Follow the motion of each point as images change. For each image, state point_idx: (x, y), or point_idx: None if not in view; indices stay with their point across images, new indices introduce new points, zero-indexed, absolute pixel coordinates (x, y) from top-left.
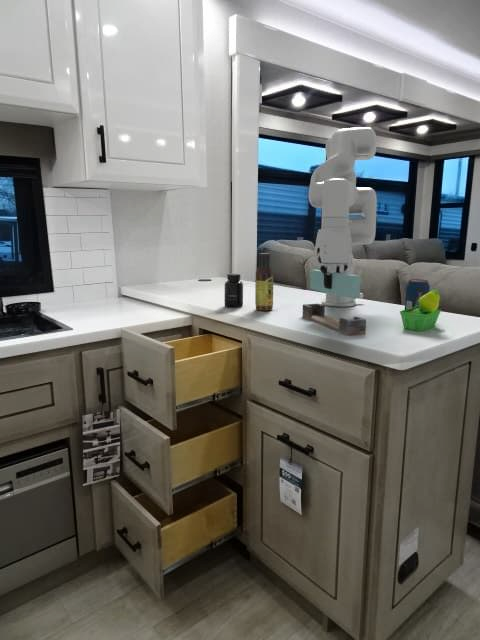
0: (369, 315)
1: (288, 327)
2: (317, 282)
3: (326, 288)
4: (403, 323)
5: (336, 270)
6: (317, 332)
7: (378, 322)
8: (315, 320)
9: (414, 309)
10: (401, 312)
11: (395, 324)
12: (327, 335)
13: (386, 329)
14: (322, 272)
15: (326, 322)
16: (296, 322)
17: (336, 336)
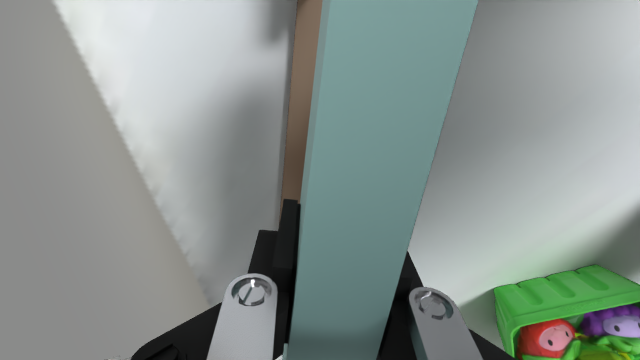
0: (628, 62)
1: (125, 97)
2: (320, 38)
3: (301, 197)
4: (497, 302)
5: (412, 331)
6: (205, 214)
7: (514, 193)
8: (292, 63)
9: (632, 297)
10: (509, 333)
11: (529, 240)
12: (217, 256)
13: (439, 275)
14: (214, 309)
15: (301, 142)
16: (202, 20)
17: (237, 274)
